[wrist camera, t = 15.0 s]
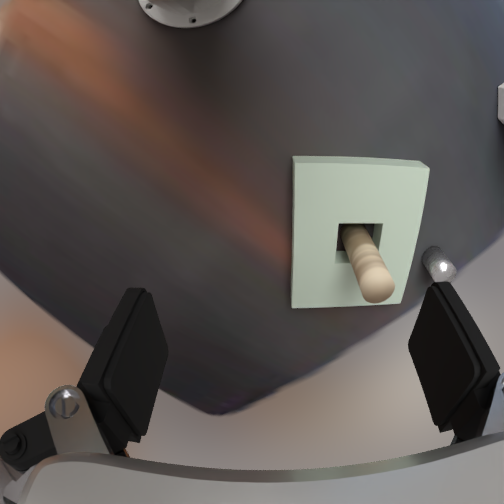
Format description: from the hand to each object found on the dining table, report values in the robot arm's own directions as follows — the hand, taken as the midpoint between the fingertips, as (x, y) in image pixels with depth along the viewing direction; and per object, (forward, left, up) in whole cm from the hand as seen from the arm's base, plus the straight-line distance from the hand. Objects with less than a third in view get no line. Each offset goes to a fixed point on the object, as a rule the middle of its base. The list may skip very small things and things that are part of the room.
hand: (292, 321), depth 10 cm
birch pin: (+12, +10, -28) cm, 32 cm away
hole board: (+12, +10, -28) cm, 32 cm away
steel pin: (+16, +23, -28) cm, 40 cm away
